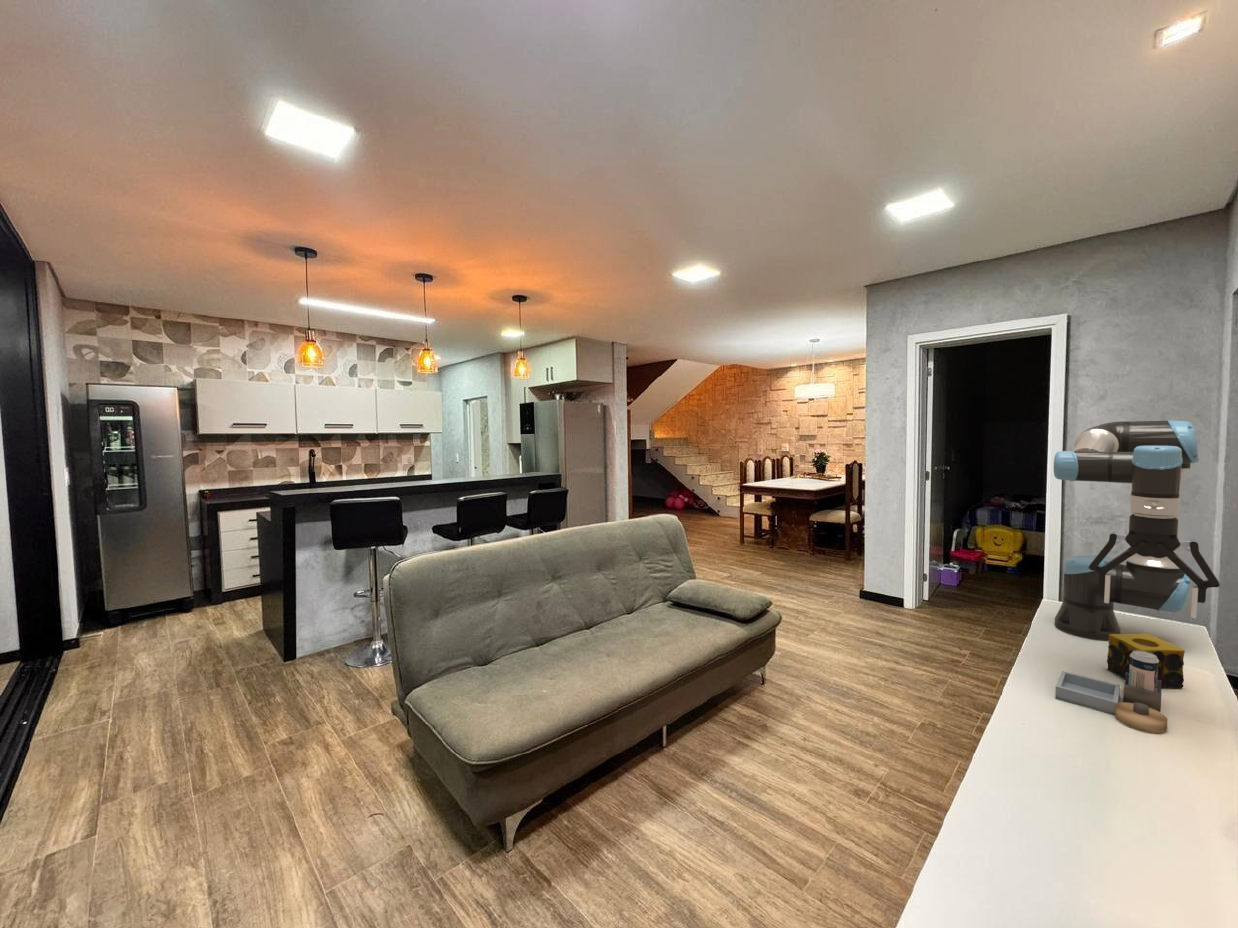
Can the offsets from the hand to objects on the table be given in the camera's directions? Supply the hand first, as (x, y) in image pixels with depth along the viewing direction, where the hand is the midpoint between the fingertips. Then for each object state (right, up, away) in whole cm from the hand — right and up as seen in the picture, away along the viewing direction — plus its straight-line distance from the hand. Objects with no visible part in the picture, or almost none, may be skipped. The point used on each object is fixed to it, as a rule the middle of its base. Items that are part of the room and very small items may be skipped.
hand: (1148, 608), depth 116 cm
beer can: (+3, -23, +4) cm, 24 cm away
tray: (-7, -23, +7) cm, 25 cm away
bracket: (+3, -23, +4) cm, 24 cm away
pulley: (-5, -24, -3) cm, 25 cm away
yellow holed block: (+14, -22, +15) cm, 30 cm away
